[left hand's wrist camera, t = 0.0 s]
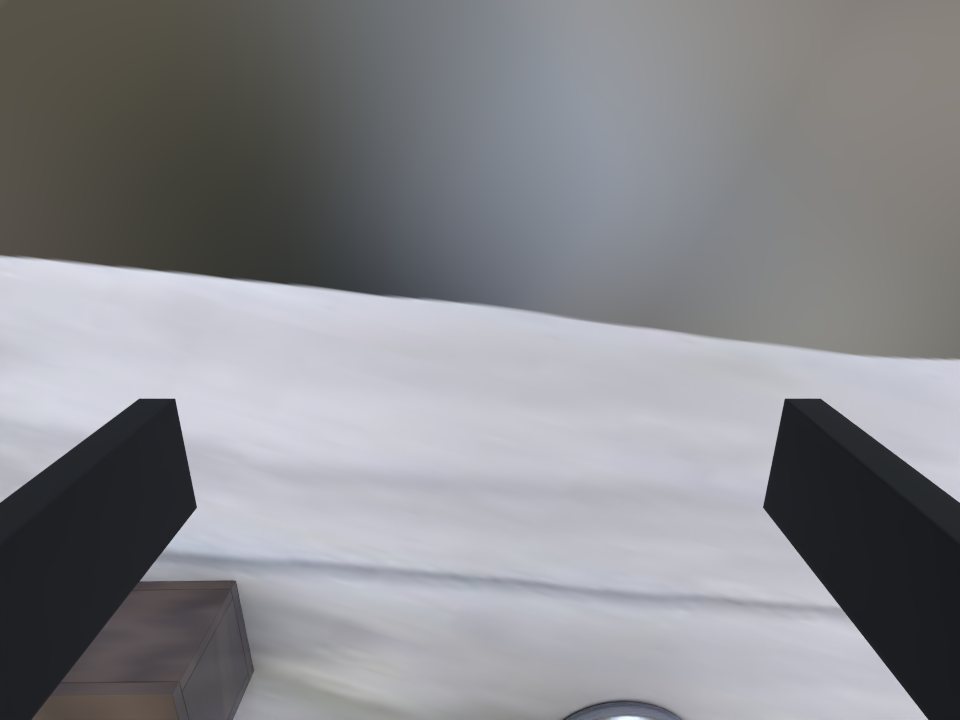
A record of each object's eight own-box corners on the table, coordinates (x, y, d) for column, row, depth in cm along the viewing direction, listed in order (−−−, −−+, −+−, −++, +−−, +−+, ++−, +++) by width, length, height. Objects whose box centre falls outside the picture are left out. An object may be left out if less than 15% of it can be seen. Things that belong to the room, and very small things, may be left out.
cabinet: (38, 673, 52) (-67, 799, 42) (4, 583, 49) (-119, 697, 39) (253, 671, 52) (199, 797, 42) (235, 580, 49) (172, 694, 39)
